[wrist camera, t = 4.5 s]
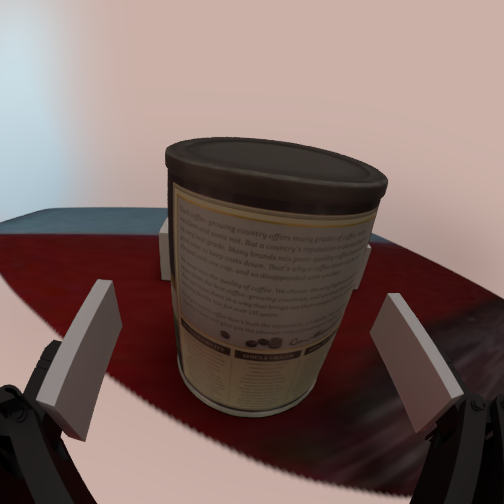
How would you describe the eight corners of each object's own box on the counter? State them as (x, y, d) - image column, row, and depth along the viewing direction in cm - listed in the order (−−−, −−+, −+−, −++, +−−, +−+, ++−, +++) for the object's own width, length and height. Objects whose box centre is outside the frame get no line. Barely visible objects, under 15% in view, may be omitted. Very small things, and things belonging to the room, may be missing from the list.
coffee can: (156, 333, 20) (143, 138, 13) (265, 299, 26) (290, 139, 19) (220, 446, 13) (241, 188, 6) (346, 375, 18) (423, 184, 12)
